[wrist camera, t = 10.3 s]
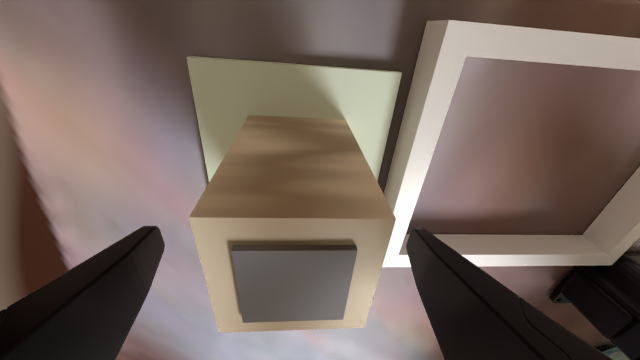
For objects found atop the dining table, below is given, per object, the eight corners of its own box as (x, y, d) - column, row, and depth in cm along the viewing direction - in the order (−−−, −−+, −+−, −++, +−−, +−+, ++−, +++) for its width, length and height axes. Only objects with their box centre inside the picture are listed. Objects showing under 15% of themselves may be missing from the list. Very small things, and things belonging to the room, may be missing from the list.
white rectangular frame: (754, 52, 13) (821, 56, 12) (585, 245, 21) (611, 265, 19) (426, 21, 11) (449, 20, 10) (370, 245, 19) (377, 267, 17)
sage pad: (398, 71, 12) (402, 72, 12) (365, 223, 18) (366, 228, 17) (190, 56, 12) (186, 57, 11) (219, 221, 17) (217, 227, 16)
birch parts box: (345, 119, 13) (398, 224, 6) (335, 197, 16) (365, 333, 9) (248, 115, 13) (185, 223, 6) (254, 195, 15) (217, 338, 8)
